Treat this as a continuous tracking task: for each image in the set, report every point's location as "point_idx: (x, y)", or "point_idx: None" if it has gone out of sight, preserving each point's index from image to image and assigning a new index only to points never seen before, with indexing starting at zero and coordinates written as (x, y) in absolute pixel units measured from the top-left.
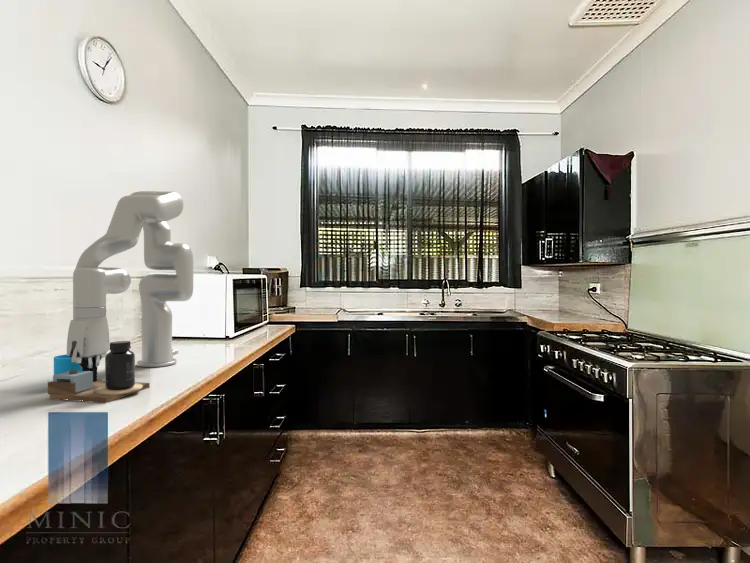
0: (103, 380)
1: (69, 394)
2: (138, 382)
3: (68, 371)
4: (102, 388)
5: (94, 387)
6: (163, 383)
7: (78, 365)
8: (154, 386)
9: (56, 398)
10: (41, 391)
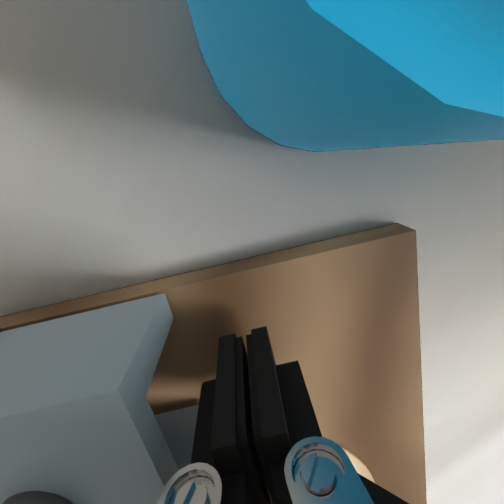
0: (415, 271)
1: None
2: (422, 475)
3: (51, 405)
4: None
5: None
6: (496, 481)
7: (381, 139)
8: (433, 493)
9: None
10: (55, 18)
